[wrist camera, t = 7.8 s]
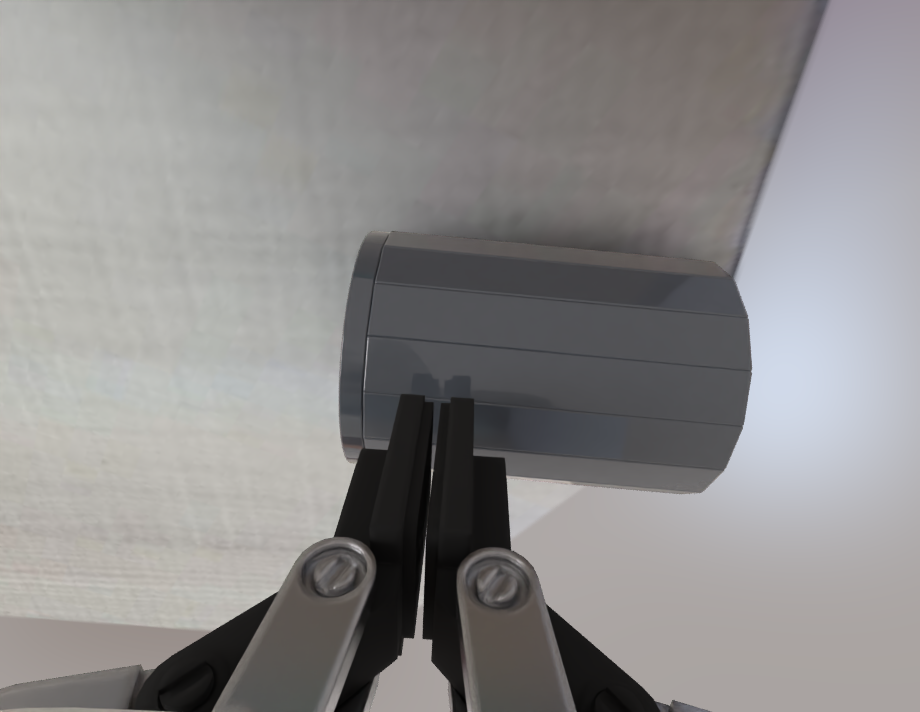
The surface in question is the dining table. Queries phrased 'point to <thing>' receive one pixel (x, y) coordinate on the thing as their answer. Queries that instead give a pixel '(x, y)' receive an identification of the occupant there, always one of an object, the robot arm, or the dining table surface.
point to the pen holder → (550, 357)
